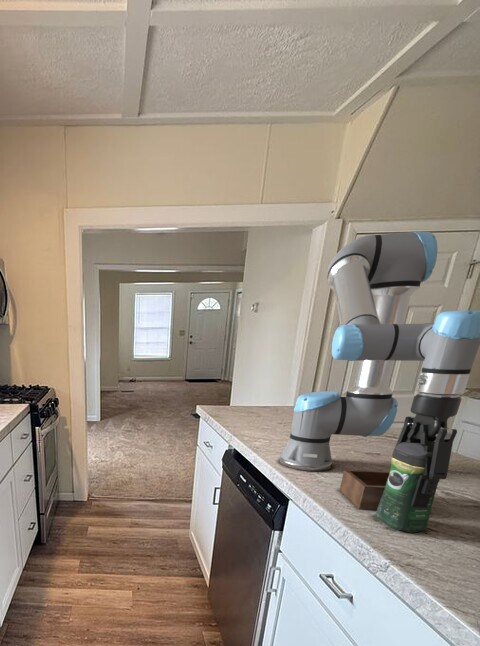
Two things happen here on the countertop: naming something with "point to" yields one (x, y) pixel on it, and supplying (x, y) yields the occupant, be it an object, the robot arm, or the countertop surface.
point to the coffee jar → (405, 490)
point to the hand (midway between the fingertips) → (406, 498)
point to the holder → (364, 487)
